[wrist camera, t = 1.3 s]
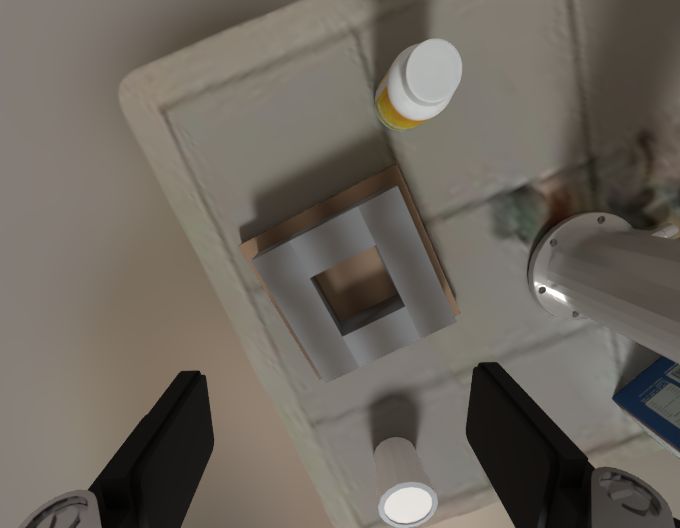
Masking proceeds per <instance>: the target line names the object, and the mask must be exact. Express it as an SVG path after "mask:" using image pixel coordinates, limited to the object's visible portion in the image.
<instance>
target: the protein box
mask: <svg viewBox="0 0 680 528" xmlns="http://www.w3.org/2000/svg"><path fill="white" fill-rule="evenodd" d="M613 401H614V402H615V403H616V404H617V405H618V406H620V407H621V408H622V409H623V410H624V411H625V412H626V413H627V414H628V415H629V416H630V417H631V418H632V419H633V420H634V421H635V422H636V423H637V424H638V425H639V426H640V427H641V428H642V429H643V430H645V431H646V432H647V433H648V434H649V435H650V436H651V437H652V438H653V439H654V440H656V441H657V442H658V443H659V444H661V445H662V446H664V447H665V448H666V449H668V450H669V451H670V452H672V453H673V454H674V455H675V456H677V457H678V458H679V459H680V364H678V363H676V362H674V361H672V360H670V359H668V358H666V357H664V356H662V357H661V358H659V359H658V360H657V361H656V362H655V363H653V364H652V365H651V366H650V367H649V368H647V369H646V370H645V371H644V372H643V373H641V374H640V375H639V376H638V377H637V378H635V379H634V380H633V381H632V382H631V383H629V384H628V385H627V386H626V387H625V388H623V389H622V390H621V391H620V392H619V393H617V394H616V395H615V396H614V397H613Z"/></svg>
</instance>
